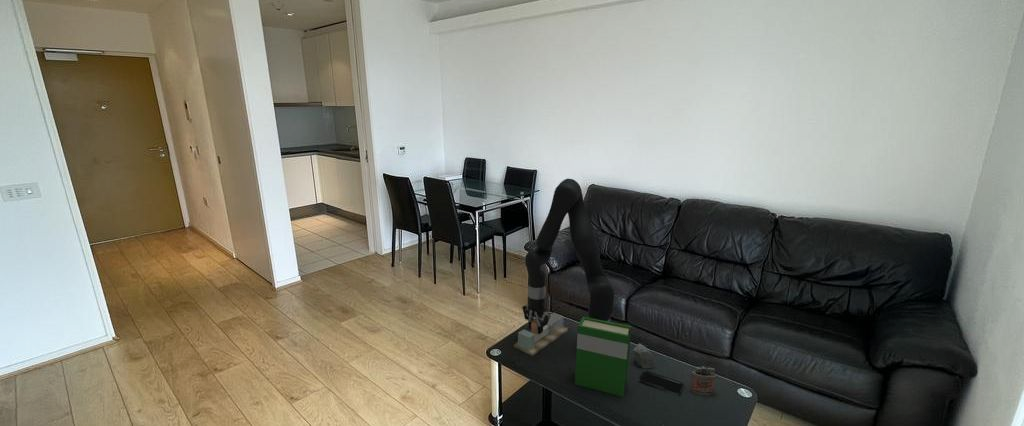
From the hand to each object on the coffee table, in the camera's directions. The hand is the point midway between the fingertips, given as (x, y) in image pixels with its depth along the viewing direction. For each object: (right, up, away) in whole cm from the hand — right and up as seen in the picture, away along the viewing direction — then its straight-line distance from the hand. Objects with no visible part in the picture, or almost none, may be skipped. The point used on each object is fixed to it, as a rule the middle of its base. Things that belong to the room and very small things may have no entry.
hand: (535, 331), depth 183 cm
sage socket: (-4, -6, -4) cm, 8 cm away
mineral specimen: (+42, -10, -13) cm, 45 cm away
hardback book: (+23, -13, -25) cm, 36 cm away
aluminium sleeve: (+8, -2, +11) cm, 14 cm away
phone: (+45, -13, -24) cm, 53 cm away
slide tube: (+2, -3, +3) cm, 5 cm away
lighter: (+59, -14, -29) cm, 67 cm away
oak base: (+3, -5, +5) cm, 7 cm away
